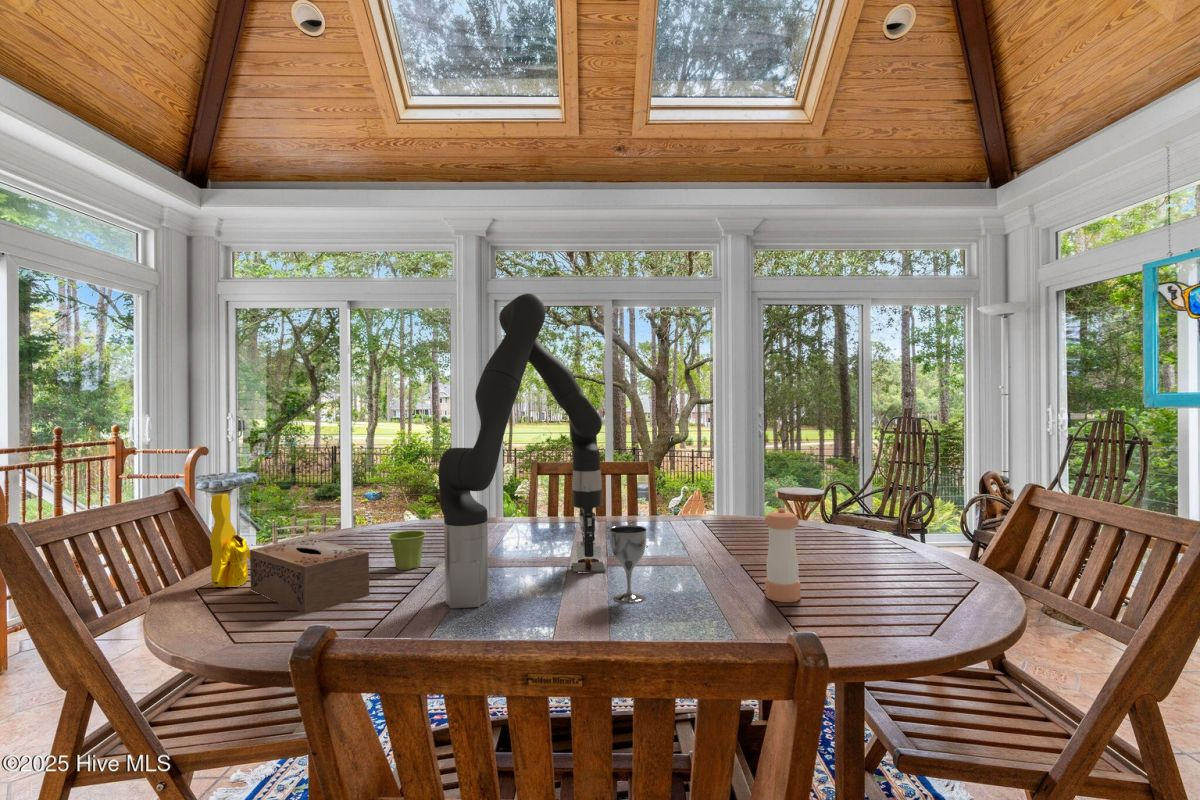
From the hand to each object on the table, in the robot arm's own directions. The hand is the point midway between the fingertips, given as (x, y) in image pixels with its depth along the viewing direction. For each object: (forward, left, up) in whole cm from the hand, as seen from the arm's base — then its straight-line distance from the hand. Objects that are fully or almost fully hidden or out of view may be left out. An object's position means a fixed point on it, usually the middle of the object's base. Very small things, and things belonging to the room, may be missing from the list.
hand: (588, 553), depth 154 cm
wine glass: (-24, -7, -4) cm, 25 cm away
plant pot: (+9, +47, -4) cm, 48 cm away
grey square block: (0, 0, -1) cm, 1 cm away
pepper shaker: (-28, -40, -4) cm, 49 cm away
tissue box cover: (-10, +65, -5) cm, 66 cm away
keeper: (0, 0, -4) cm, 4 cm away
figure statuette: (-1, +86, -4) cm, 87 cm away
